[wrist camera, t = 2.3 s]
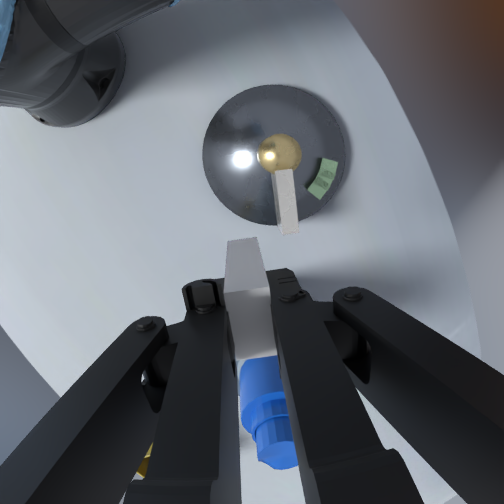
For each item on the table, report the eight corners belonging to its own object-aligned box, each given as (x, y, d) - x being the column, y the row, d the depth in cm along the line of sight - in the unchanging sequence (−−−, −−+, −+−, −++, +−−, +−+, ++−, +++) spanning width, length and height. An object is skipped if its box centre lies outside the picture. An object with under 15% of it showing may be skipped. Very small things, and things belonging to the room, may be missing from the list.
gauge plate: (185, 111, 36) (183, 109, 35) (318, 73, 35) (321, 70, 34) (229, 240, 41) (229, 243, 39) (356, 201, 40) (360, 202, 39)
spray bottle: (268, 263, 42) (308, 397, 18) (304, 312, 44) (362, 454, 20) (213, 301, 43) (195, 451, 19) (251, 346, 45) (266, 497, 22)
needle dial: (254, 138, 36) (257, 135, 31) (292, 134, 36) (300, 131, 31) (266, 227, 39) (270, 236, 34) (302, 222, 39) (311, 231, 35)
